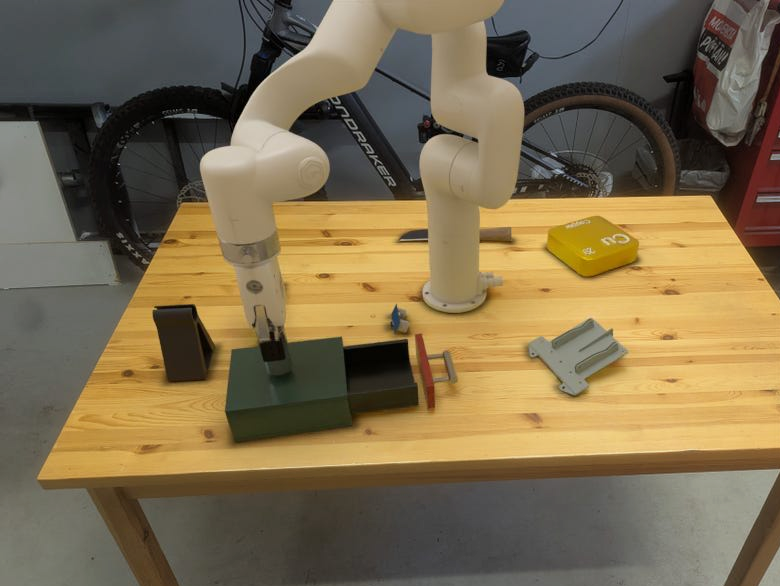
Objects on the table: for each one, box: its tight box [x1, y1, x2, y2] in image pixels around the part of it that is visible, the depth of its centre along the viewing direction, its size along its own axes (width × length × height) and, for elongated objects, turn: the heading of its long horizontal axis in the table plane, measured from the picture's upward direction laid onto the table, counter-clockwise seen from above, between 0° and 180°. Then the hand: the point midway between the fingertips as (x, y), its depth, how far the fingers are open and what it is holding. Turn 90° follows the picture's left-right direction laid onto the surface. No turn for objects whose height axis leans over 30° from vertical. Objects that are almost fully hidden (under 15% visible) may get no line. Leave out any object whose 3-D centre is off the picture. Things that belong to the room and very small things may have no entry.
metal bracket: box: [528, 317, 629, 396], centre depth 115 cm, size 14×6×15 cm
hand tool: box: [398, 226, 512, 242], centre depth 148 cm, size 6×3×25 cm
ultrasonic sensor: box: [389, 303, 410, 335], centre depth 122 cm, size 6×2×3 cm, turn 12°
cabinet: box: [224, 335, 353, 443], centre depth 105 cm, size 18×15×7 cm
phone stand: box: [151, 303, 216, 383], centre depth 110 cm, size 9×6×12 cm, turn 6°
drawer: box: [343, 333, 459, 416], centre depth 108 cm, size 21×13×5 cm, turn 102°
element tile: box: [546, 215, 640, 278], centre depth 142 cm, size 15×15×5 cm
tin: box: [255, 324, 292, 375], centre depth 100 cm, size 4×4×8 cm
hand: (275, 348), depth 100 cm, fingers closed on tin, 4 cm apart
